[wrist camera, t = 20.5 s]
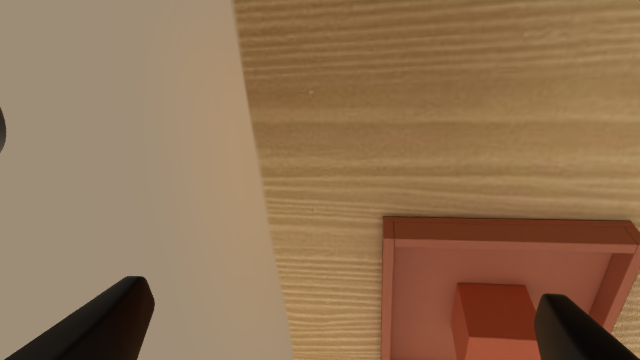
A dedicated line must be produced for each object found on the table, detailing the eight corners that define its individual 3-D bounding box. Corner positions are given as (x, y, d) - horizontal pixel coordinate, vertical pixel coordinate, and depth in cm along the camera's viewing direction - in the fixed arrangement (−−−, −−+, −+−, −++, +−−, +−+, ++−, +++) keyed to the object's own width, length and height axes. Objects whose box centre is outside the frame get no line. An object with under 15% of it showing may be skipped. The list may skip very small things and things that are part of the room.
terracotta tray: (380, 358, 31) (380, 383, 29) (382, 216, 24) (383, 238, 22) (570, 370, 29) (581, 397, 28) (631, 220, 22) (651, 245, 21)
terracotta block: (450, 325, 28) (460, 382, 24) (456, 282, 25) (468, 337, 22) (514, 328, 27) (533, 387, 24) (526, 284, 25) (549, 341, 22)
